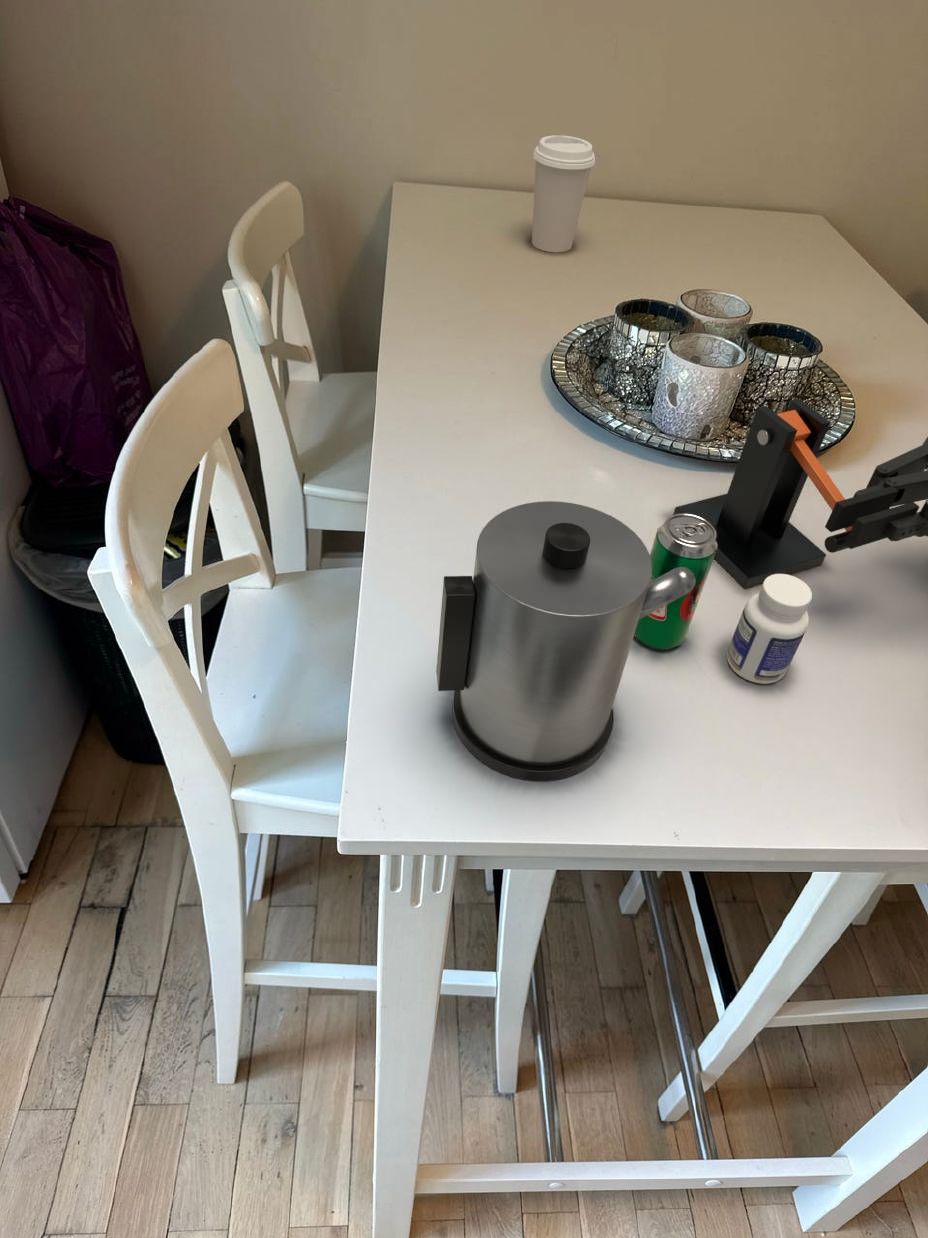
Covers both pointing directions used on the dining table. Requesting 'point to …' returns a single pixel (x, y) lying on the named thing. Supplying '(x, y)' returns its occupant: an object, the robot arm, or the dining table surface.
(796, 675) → the dining table surface
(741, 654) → the pill bottle
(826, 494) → the orange switch lever
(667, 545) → the soda can
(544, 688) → the kettle
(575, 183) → the coffee cup
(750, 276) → the dining table surface
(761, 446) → the switch bracket
